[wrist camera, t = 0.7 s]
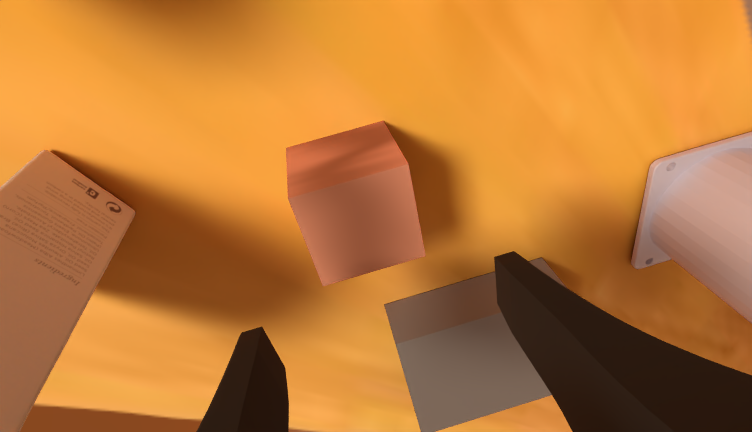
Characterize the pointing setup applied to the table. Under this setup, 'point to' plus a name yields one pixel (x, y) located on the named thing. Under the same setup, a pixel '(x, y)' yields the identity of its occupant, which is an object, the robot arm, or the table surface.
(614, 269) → the table surface
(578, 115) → the table surface
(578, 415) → the robot arm
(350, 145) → the cube
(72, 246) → the skincare box
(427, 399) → the base block
